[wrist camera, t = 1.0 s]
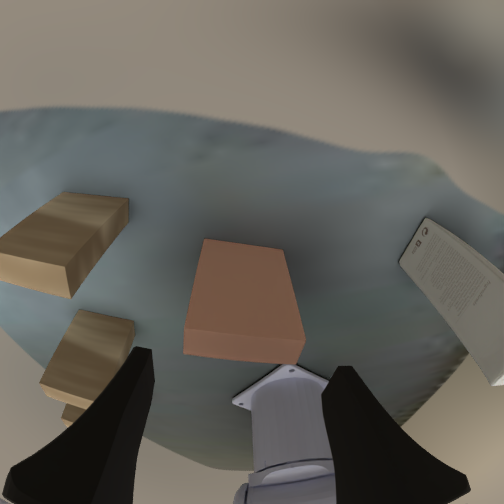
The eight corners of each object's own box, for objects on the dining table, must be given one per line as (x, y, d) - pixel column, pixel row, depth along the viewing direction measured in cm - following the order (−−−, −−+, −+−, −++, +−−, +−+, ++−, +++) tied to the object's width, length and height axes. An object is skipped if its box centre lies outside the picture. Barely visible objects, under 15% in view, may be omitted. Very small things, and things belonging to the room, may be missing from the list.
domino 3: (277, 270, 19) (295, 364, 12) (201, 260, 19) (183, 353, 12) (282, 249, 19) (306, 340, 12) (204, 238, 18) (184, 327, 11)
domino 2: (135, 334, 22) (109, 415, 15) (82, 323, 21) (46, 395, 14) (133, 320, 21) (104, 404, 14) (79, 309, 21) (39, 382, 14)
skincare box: (395, 264, 20) (484, 394, 9) (425, 211, 18) (545, 321, 7) (442, 284, 21) (519, 389, 10) (469, 240, 19) (564, 334, 8)
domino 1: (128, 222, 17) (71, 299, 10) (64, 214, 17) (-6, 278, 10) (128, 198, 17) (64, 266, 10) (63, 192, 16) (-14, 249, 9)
